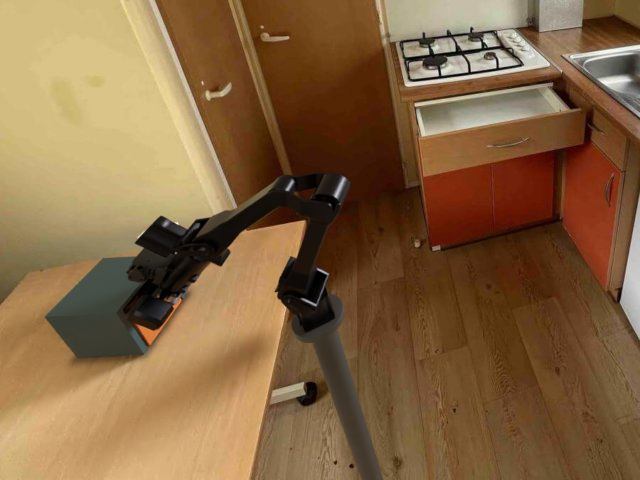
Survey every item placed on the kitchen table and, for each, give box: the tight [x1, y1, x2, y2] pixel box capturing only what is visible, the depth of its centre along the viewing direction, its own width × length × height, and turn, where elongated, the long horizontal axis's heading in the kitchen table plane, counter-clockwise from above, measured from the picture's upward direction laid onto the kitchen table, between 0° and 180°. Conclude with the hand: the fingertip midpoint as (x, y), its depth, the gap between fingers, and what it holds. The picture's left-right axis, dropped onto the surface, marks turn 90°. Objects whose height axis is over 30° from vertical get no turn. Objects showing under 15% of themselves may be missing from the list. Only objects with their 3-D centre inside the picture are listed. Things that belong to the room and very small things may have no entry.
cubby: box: [44, 255, 187, 360], centre depth 89 cm, size 13×14×13 cm
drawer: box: [131, 291, 183, 347], centre depth 90 cm, size 13×11×8 cm
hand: (155, 301), depth 89 cm, fingers closed, pressing on drawer
